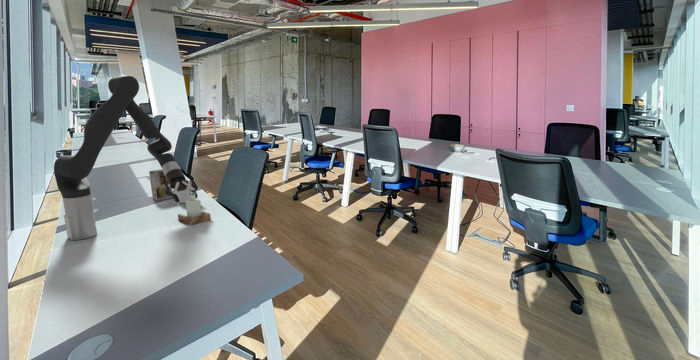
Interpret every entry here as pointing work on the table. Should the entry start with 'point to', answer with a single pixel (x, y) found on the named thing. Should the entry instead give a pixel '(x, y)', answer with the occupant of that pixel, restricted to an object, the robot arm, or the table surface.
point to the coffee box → (158, 185)
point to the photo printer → (183, 196)
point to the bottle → (193, 206)
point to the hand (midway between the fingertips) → (187, 200)
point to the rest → (194, 218)
